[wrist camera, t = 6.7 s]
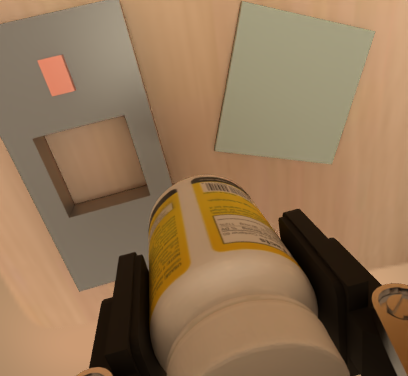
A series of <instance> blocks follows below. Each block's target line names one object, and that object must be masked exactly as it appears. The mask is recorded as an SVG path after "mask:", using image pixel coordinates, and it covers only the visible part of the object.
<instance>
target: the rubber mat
mask: <svg viewBox="0 0 408 376" xmlns="http://www.w3.org/2000/svg"><path fill="white" fill-rule="evenodd" d="M374 34H375V31H371V30H367V29H363V28H358V27H354V26H349V25H345V24H341V23H336V22H332V21H327V20H323V19H319V18H314V17H310V16H305V15H301V14H297V13H292V12H288V11H283V10H279V9H275V8H270V7H266V6H261V5H257V4H253V3H248V2H244V1H242V2H241V5H240V11H239V16H238V22H237V27H236V33H235V38H234V44H233V49H232V55H231V60H230V66H229V71H228V77H227V82H226V88H225V93H224V99H223V104H222V110H221V115H220V121H219V126H218V132H217V137H216V143H215V148H214V150H215V151H218V152H227V153H236V154H245V155H253V156H262V157H271V158H280V159H289V160H298V161H306V162H315V163H324V164H332V163H333V160H334V156H335V153H336V150H337V147H338V144H339V141H340V138H341V135H342V132H343V129H344V126H345V123H346V120H347V117H348V114H349V111H350V108H351V105H352V102H353V99H354V95H355V92H356V89H357V86H358V83H359V80H360V77H361V74H362V71H363V68H364V65H365V62H366V59H367V56H368V53H369V50H370V47H371V44H372V41H373V37H374Z"/></svg>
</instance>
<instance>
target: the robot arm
mask: <svg viewBox="0 0 408 376" xmlns="http://www.w3.org/2000/svg"><path fill="white" fill-rule="evenodd" d="M279 229H280V237H281V241H282V242H283V244H284V245H285V247H286V248H287V249H288V251H289V252H290V253H291V255H292V256H293V258H294V259H295V260H296V262H297V263H298V264H299V266H300V267H301V269H302V270H303V271H304V273H305V274H306V276H307V278H308V279H309V281H310V283H311V285H312V287H313V289H314V292H315V295H316V298H317V304H318V319H319V320H320V321H321V323H322V324H323V325H324V327H325V329H326V331H327V332H328V335H329V336H330V338H331V340H332V341H333V343H334V345H335V347H336V348H337V350H338V352H339V353H340V355H341V357H342V358H343V360H344V362H345V364H346V365H347V368H348V370H349V373H350V376H356V375H359V374H361V376H408V285H405V284H396V283H391V284H385V285H381V284H380V283H379V282H378V281H377V280H376V279H375V278H374V277H373V276H372V275H371V274H370V273H369V272H368V271H367V270H366V269H365V268H364V267H363V266H362V265H361V264H360V263H359V262H358V261H357V260H356V259H355V258H354V257H353V256H352V255H351V254H350V253H349V252H348V251H347V250H346V249H345V248H344V247H343V246H342V245H341V244H340V243H339V242H338V241H337V240H336V239H334V238H329V239H328V238H327V237H326V236H325V235H324V234H323V233H322V232H321V231H320V230H319V229H318V228H317V227H316V226H315V225H314V224H313V222H312V221H311V220H310V219H309V218H308V217H307V216H306V215H305V214H304V213H303V212H302V211H301V210H300V209H296V210H292V211H288V212H284V213H283V217H281V218H279ZM76 376H167V372H166V371H165V370H164V369H163V368H162V366H161V365H160V363H159V362H158V360H157V358H156V356H155V354H154V351H153V347H152V343H151V338H150V329H149V271H148V268H147V265H146V262H145V260H144V257H143V255H142V254H141V255H137V253H136V252H132V253H129V254H125V255H121V256H119V259H118V266H117V273H116V280H115V287H114V293H113V297H112V298H108V299H104V300H103V301H102V304H101V308H100V313H99V319H98V324H97V329H96V334H95V340H94V345H93V350H92V356H91V361H90V366H89V369H87V370H84V371H82V372H81V373H79V374H78V375H76Z"/></svg>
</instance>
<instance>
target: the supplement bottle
mask: <svg viewBox="0 0 408 376" xmlns="http://www.w3.org/2000/svg"><path fill="white" fill-rule="evenodd" d="M148 233H149V241H148V242H149V329H150V338H151V343H152V347H153V351H154V354H155V356H156V358H157V360H158V362H159V363H160V365H161V366H162V368H163V369H164V370H165V371H166V372H167V376H350V373H349V370H348V368H347V365H346V364H345V362H344V360H343V358H342V357H341V355H340V353H339V352H338V350H337V348H336V347H335V345H334V343H333V341H332V340H331V338H330V336H329V335H328V332H327V331H326V329H325V327H324V325H323V324H322V323H321V321H320V320H319V319H318V304H317V298H316V295H315V292H314V289H313V287H312V285H311V283H310V281H309V279H308V278H307V276H306V274H305V273H304V271H303V270H302V269H301V267H300V266H299V264H298V263H297V262H296V260H295V259H294V258H293V256H292V255H291V253H290V252H289V251H288V249H287V248H286V247H285V245H284V244H283V242H282V241H281V240H280V238H279V237H278V235H277V234H276V233H275V231H274V230H273V229H272V227H271V226H270V224H269V223H268V222H267V220H266V219H265V218H264V216H263V215H262V213H261V212H260V211H259V209H258V208H257V206H256V205H255V204H254V202H253V201H252V200H251V198H250V197H249V195H248V194H247V193H246V192H245V191H244V190H243V189H242V188H241V187H240V186H239V185H238V184H236V183H235V182H233V181H231V180H229V179H227V178H224V177H221V176H216V175H197V176H192V177H189V178H186V179H183V180H181V181H179V182H177V183H176V184H174V185H173V186H171V187H170V188H168V189H167V190H166V191H165V192H164V193H163V194H162V195H161V196H160V197H159V198H158V200H157V201H156V203H155V205H154V207H153V209H152V212H151V215H150V219H149V229H148Z"/></svg>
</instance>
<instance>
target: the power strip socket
mask: <svg viewBox="0 0 408 376" xmlns="http://www.w3.org/2000/svg"><path fill="white" fill-rule="evenodd" d="M123 115H124V116H125V119H126V122H127V125H128V128H129V131H130V134H131V137H132V140H133V143H134V146H135V149H136V152H137V156H138V159H139V162H140V165H141V168H142V171H143V174H144V177H145V180H146V183H147V185H146V186H142V187H138V188H135V189H131V190H127V191H124V192H120V193H116V194H113V195H109V196H105V197H102V198H98V199H94V200H91V201H87V202H83V203H80V204H76V205H75V204H74V202H73V200H72V198H71V195H70V193H69V191H68V189H67V186H66V184H65V182H64V180H63V178H62V175H61V173H60V171H59V169H58V166H57V164H56V162H55V160H54V157H53V155H52V153H51V151H50V148H49V146H48V144H47V142H46V140H45V137H44V136H45V135H49V134H53V133H57V132H61V131H65V130H69V129H73V128H76V127H80V126H84V125H88V124H92V123H96V122H100V121H104V120H108V119H112V118H116V117H119V116H123ZM0 137H1V139H2V141H3V143H4V144H5V146H6V148H7V150H8V152H9V154H10V156H11V158H12V160H13V162H14V164H15V166H16V168H17V170H18V172H19V174H20V176H21V178H22V180H23V182H24V184H25V186H26V188H27V190H28V192H29V194H30V196H31V198H32V200H33V202H34V204H35V205H36V207H37V209H38V211H39V213H40V215H41V217H42V219H43V221H44V223H45V225H46V227H47V229H48V231H49V233H50V235H51V237H52V239H53V241H54V243H55V245H56V247H57V249H58V251H59V253H60V255H61V257H62V259H63V261H64V263H65V265H66V266H67V268H68V270H69V272H70V274H71V276H72V278H73V280H74V282H75V284H76V286H77V288H78V290H79V292H80V291H83V290H87V289H90V288H93V287H97V286H100V285H104V284H107V283H110V282H114V281H115V280H116V273H117V266H118V259H119V256H121V255H125V254H129V253H132V252H136V253H137V255H141V254H142V255H143V257H144V260H145V262H146V265H147V268H148V271H149V242H148V241H149V233H148V229H149V219H150V215H151V212H152V209H153V207H154V205H155V203H156V201H157V200H158V198H159V197H160V196H161V195H162V194H163V193H164V192H165V191H166V190H167V189H168V188H170V187H171V186H173V184H172V181H171V177H170V174H169V170H168V167H167V163H166V160H165V157H164V153H163V150H162V146H161V143H160V139H159V136H158V132H157V129H156V125H155V122H154V118H153V115H152V111H151V108H150V104H149V101H148V97H147V94H146V90H145V87H144V83H143V80H142V76H141V73H140V69H139V66H138V62H137V59H136V56H135V52H134V49H133V45H132V42H131V38H130V35H129V31H128V28H127V24H126V21H125V17H124V14H123V10H122V7H121V3H120V1H119V0H104V1H100V2H95V3H91V4H87V5H82V6H78V7H74V8H69V9H65V10H60V11H56V12H52V13H47V14H43V15H38V16H34V17H30V18H25V19H21V20H17V21H12V22H8V23H3V24H0Z"/></svg>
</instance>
